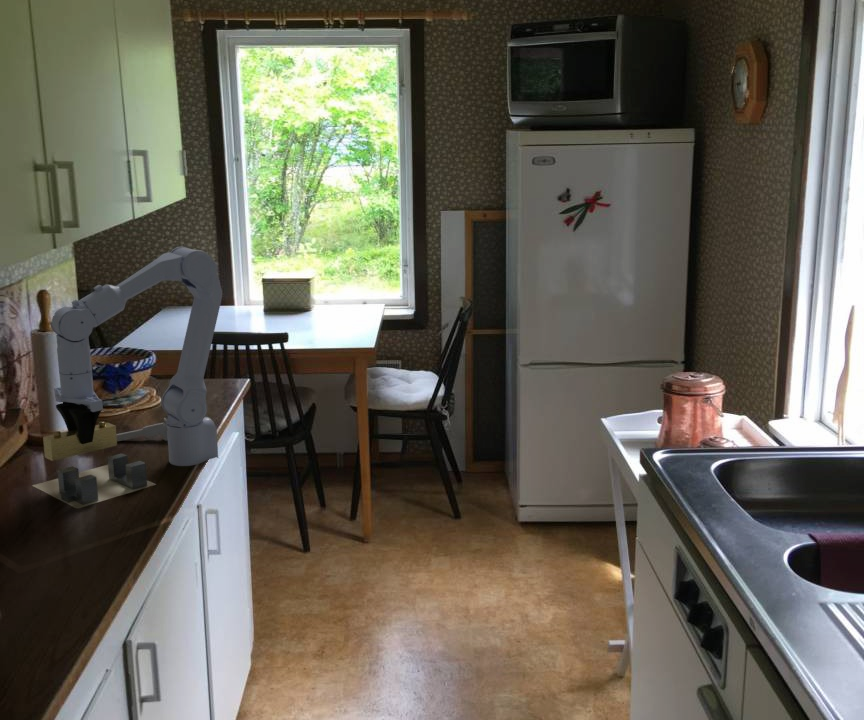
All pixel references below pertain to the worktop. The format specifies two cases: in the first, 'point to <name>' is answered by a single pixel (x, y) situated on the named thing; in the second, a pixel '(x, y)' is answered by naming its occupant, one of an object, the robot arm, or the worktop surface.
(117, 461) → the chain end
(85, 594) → the worktop surface
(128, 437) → the caliper
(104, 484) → the jig board
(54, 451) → the master link
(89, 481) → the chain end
